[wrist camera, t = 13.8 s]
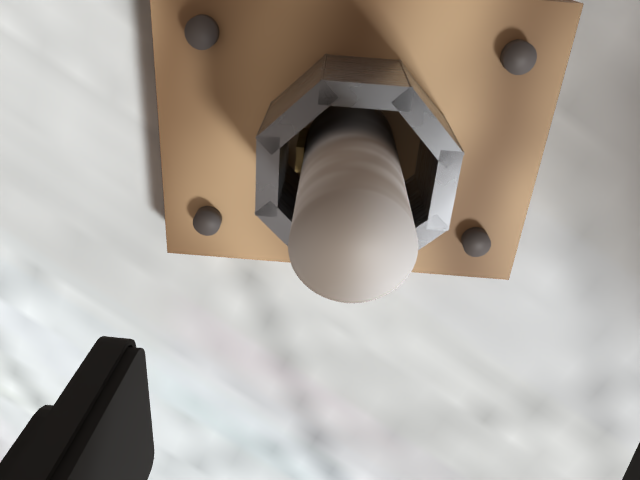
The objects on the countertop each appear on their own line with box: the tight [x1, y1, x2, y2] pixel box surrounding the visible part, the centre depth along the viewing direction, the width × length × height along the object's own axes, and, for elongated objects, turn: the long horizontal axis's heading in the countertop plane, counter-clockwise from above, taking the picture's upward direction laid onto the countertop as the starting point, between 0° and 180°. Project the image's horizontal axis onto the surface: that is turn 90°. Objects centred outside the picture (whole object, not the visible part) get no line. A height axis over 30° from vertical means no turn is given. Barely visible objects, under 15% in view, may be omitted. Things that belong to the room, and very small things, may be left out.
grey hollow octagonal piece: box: [254, 53, 465, 250], centre depth 22 cm, size 7×7×4 cm
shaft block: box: [150, 0, 583, 303], centre depth 21 cm, size 16×12×11 cm
